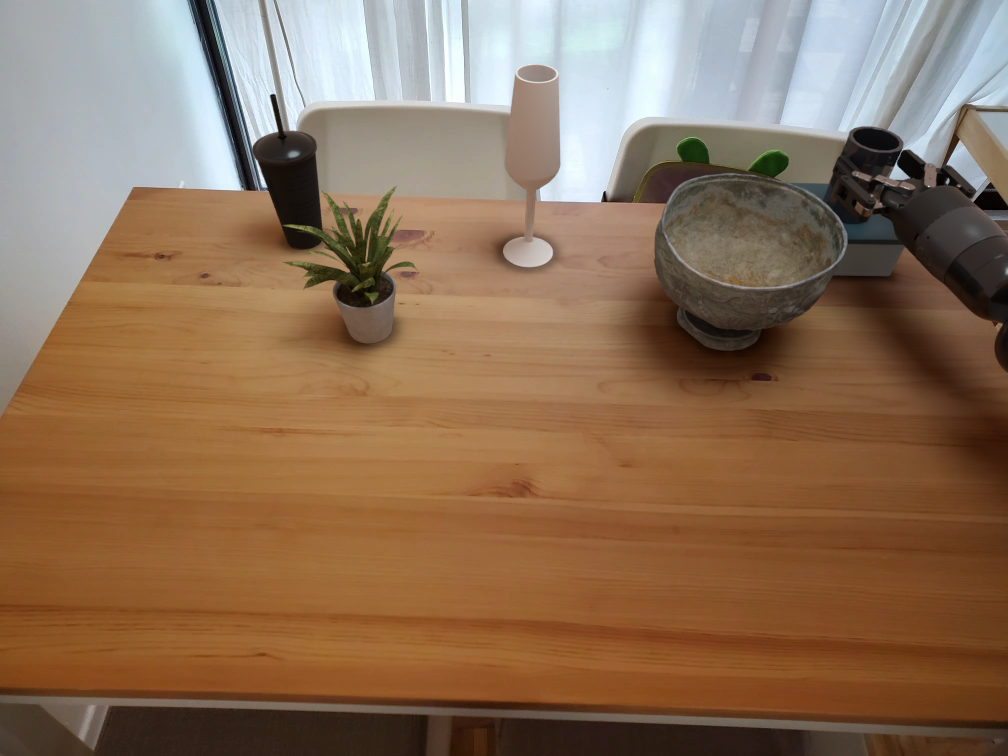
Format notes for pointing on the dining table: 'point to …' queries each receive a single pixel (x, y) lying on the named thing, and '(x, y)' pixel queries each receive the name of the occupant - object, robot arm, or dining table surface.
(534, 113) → the champagne flute
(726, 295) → the bowl
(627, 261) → the dining table surface
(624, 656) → the dining table surface
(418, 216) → the dining table surface
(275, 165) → the drinking cup
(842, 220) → the cup
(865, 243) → the container
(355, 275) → the house plant
